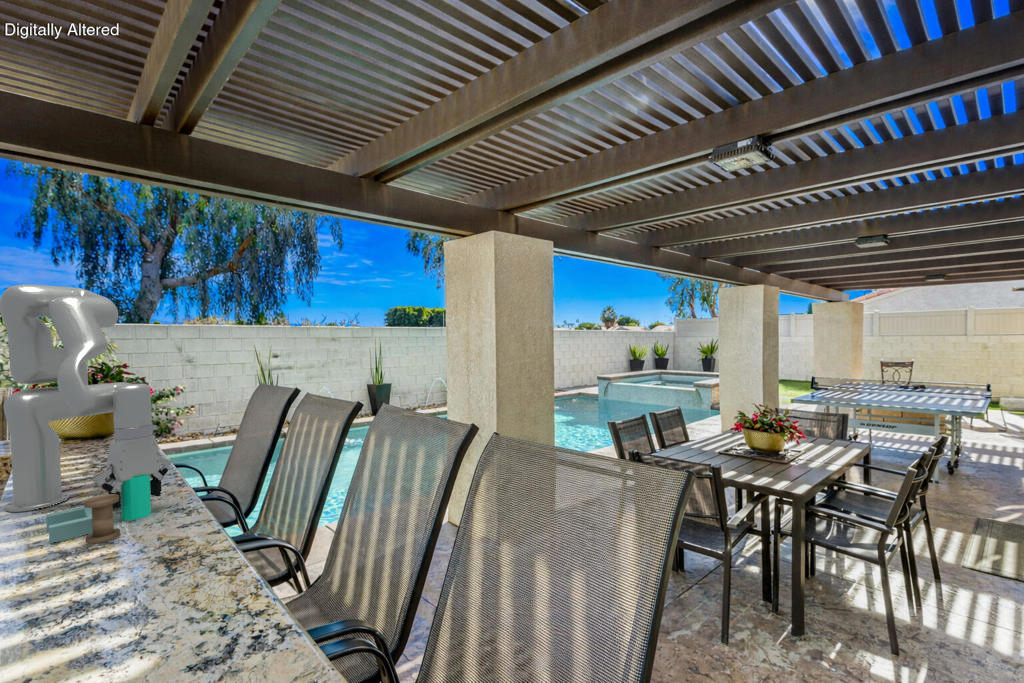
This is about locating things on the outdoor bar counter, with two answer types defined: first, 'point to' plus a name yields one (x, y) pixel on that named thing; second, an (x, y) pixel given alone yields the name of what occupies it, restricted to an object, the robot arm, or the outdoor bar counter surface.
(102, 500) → the bobbin
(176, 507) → the outdoor bar counter surface
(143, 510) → the candle
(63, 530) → the notch board
